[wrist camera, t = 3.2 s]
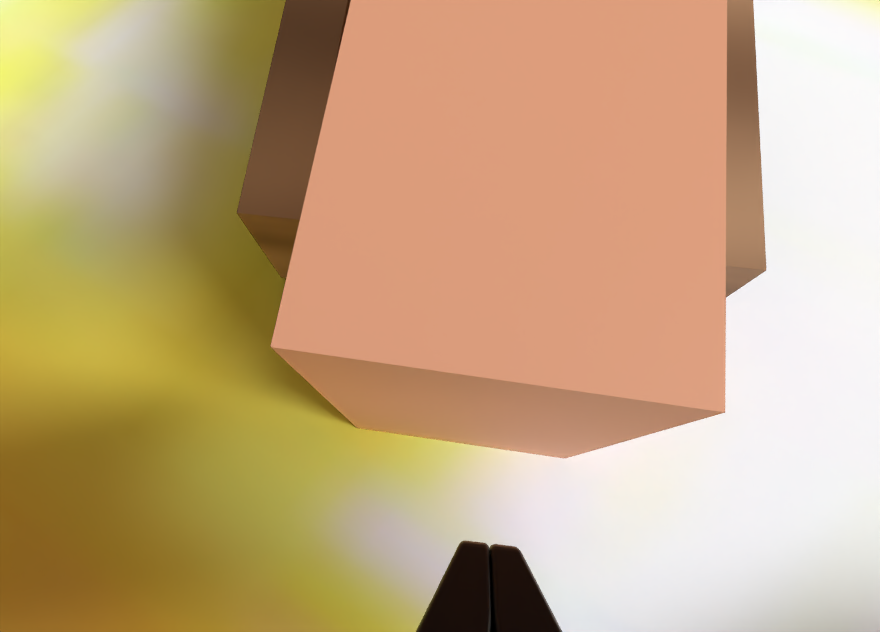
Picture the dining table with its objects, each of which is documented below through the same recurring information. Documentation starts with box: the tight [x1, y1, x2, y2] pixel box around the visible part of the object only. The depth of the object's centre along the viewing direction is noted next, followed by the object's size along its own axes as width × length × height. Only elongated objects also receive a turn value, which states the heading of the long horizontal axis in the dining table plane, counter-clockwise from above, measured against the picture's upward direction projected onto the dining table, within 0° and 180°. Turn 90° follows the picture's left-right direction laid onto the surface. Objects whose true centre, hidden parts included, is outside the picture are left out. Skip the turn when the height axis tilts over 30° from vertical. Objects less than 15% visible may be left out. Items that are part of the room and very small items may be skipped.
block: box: [271, 0, 727, 458], centre depth 14 cm, size 16×6×9 cm, turn 172°
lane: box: [237, 0, 766, 297], centre depth 17 cm, size 14×12×4 cm
